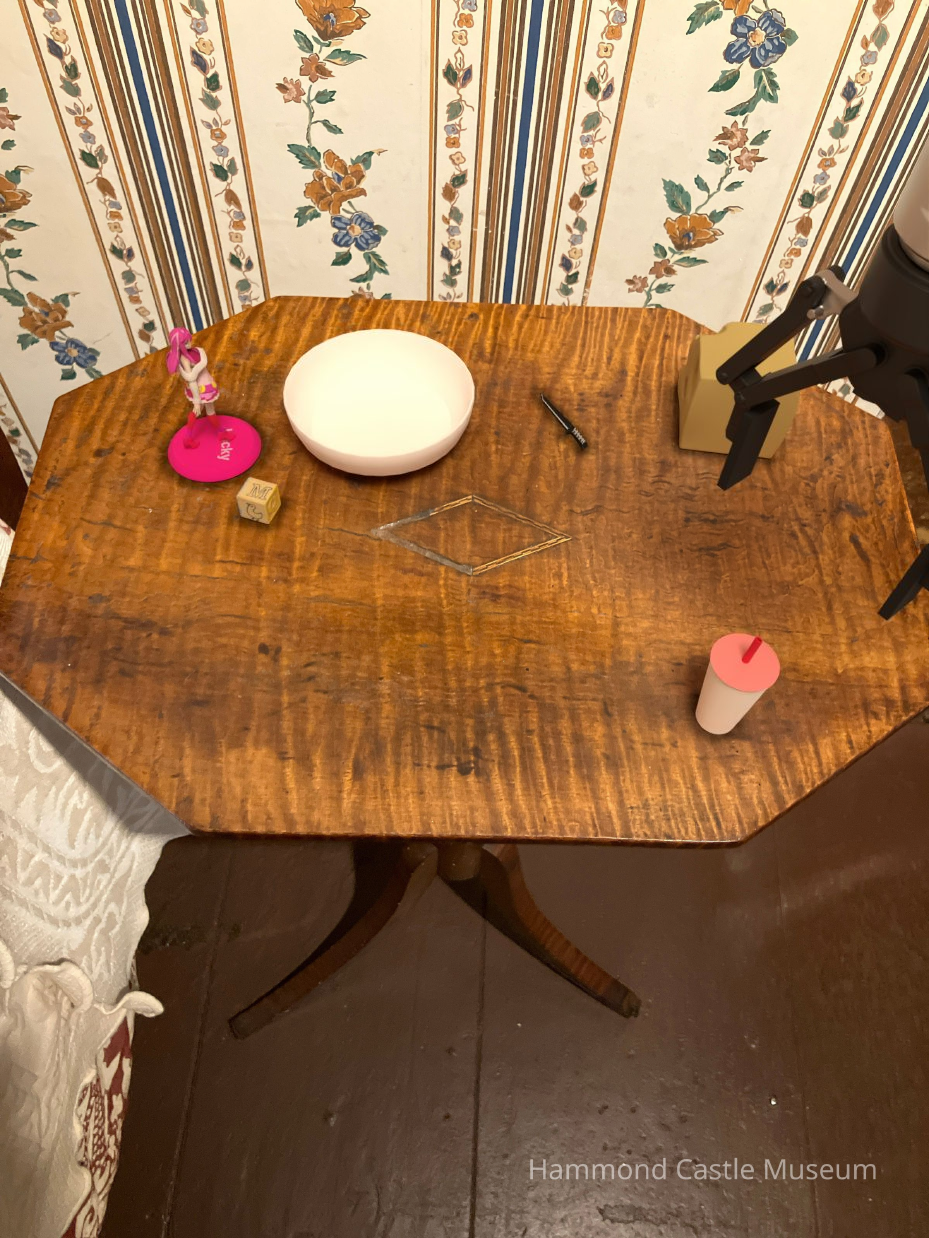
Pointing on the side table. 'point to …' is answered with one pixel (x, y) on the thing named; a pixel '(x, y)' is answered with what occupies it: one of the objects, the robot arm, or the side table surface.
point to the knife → (566, 423)
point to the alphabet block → (258, 500)
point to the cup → (735, 680)
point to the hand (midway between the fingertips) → (810, 540)
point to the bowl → (379, 401)
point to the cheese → (726, 390)
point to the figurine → (206, 422)
